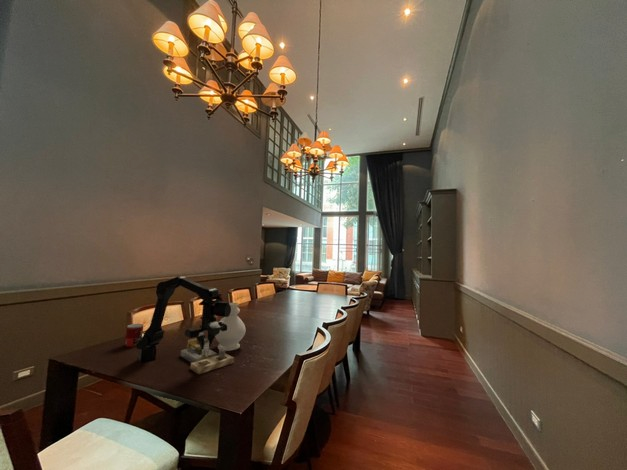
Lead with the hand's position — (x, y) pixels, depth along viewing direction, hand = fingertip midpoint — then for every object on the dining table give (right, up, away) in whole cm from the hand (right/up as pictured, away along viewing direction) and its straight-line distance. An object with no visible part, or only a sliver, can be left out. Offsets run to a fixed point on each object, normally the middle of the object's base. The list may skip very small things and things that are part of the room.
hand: (205, 348), depth 119 cm
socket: (-9, -10, +11) cm, 17 cm away
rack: (+2, -10, +3) cm, 10 cm away
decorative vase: (+2, -12, +29) cm, 31 cm away
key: (-12, -7, +14) cm, 20 cm away
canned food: (-52, -9, +24) cm, 58 cm away
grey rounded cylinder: (0, -4, 0) cm, 4 cm away
